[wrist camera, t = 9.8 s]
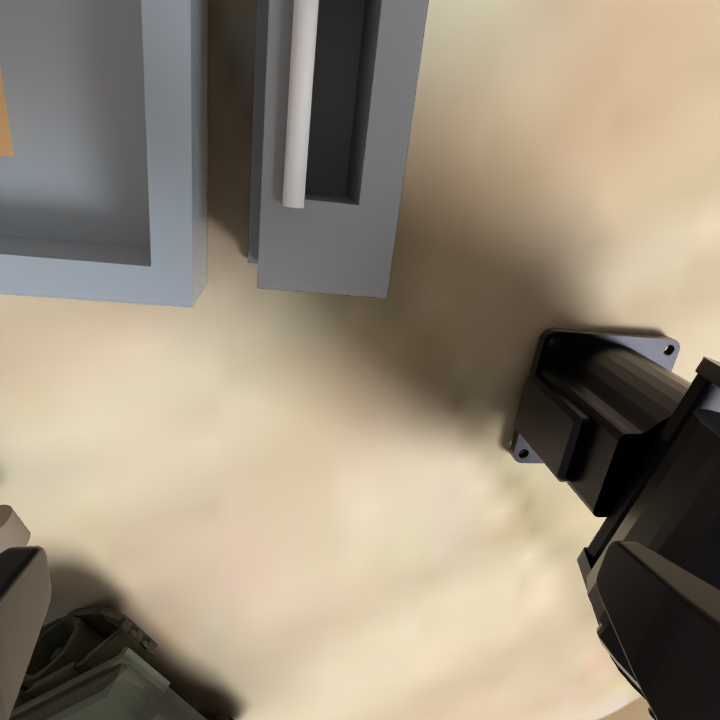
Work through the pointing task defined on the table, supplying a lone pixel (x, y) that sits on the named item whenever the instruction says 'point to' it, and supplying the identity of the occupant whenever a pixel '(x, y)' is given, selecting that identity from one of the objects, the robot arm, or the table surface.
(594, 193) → the table surface
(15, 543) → the figurine character
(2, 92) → the tan wooden block
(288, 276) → the dispenser
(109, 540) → the table surface
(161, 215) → the tray
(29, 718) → the toy tank
